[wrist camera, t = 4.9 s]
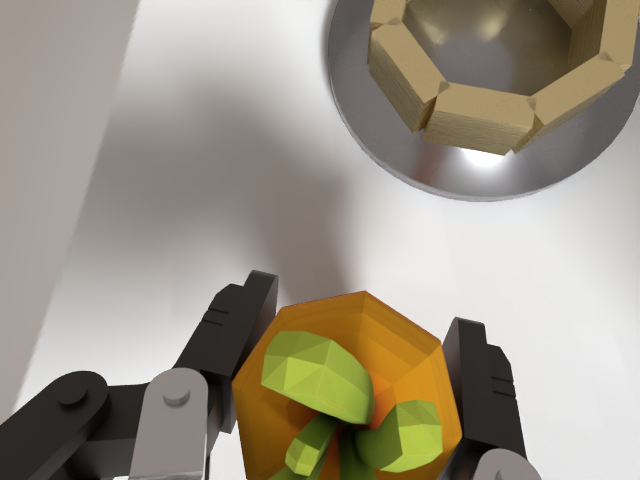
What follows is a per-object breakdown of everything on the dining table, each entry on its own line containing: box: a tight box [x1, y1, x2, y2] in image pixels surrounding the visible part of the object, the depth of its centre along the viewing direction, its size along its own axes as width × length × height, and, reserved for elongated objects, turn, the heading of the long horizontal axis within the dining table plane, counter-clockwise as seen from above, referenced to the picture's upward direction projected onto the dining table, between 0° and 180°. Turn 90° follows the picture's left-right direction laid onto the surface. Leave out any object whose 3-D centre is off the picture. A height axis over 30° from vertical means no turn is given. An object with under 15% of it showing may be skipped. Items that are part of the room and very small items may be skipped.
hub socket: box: [328, 0, 640, 202], centre depth 19 cm, size 14×14×4 cm
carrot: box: [231, 291, 463, 480], centre depth 12 cm, size 5×5×15 cm
